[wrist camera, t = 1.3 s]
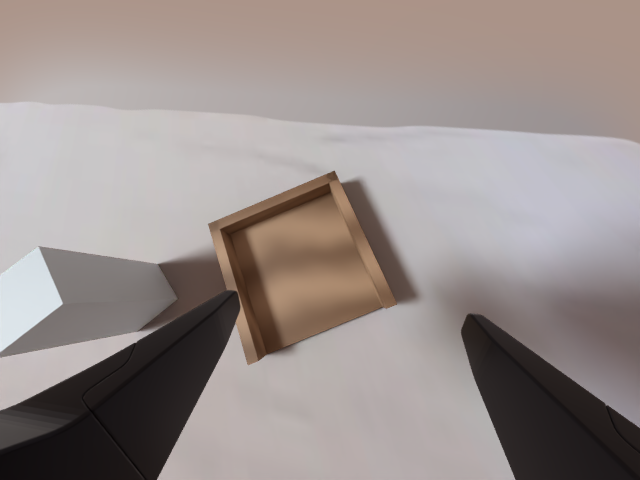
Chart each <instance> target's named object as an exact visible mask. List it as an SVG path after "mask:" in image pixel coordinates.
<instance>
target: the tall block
mask: <svg viewBox="0 0 640 480" xmlns="http://www.w3.org/2000/svg"><path fill="white" fill-rule="evenodd" d="M177 299H178V298H177V296H176V295H175V293H174V291H173V290H172V288H171V286H170V284H169V283H168V281H167V279H166V278H165V276H164V274H163V272H162V271H161V269H160V267H159V266H158V264H154V263H147V262H141V261H134V260H127V259H120V258H114V257H107V256H100V255H93V254H87V253H80V252H73V251H66V250H60V249H53V248H46V247H39V246H38V247H37V248H36V249H34V250H33V251H32V252H30V253H29V254H28V255H26V256H25V257H24V258H22V259H21V260H20V261H18V262H17V263H16V264H14V265H13V266H12V267H10V268H9V269H7V270H6V271H5V272H3V273H2V274H1V275H0V357H5V356H11V355H16V354H21V353H26V352H32V351H37V350H42V349H48V348H53V347H58V346H63V345H69V344H74V343H79V342H85V341H90V340H95V339H100V338H106V337H111V336H116V335H122V334H127V333H132V332H137V331H138V330H140V329H141V328H142V327H143V326H145V325H146V324H147V323H148V322H150V321H151V320H152V319H154V318H155V317H156V316H157V315H159V314H160V313H161V312H162V311H164V310H165V309H166V308H167V307H169V306H170V305H171V304H172V303H174V302H175V301H176V300H177Z"/></svg>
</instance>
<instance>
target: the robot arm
mask: <svg viewBox="0 0 640 480" xmlns="http://www.w3.org/2000/svg"><path fill="white" fill-rule="evenodd" d="M240 308H241V306H240V300H239V295H238V292H237V291H234V290H226V291H224V292H223V293H221V294H219V295H217V296H216V297H214V298H212V299H210V300H209V301H207V302H205V303H203V304H202V305H200V306H198V307H196V308H195V309H193V310H191V311H189V312H188V313H186V314H184V315H182V316H181V317H179V318H177V319H175V320H174V321H172V322H170V323H168V324H167V325H165V326H163V327H161V328H160V329H158V330H156V331H154V332H153V333H151V334H149V335H147V336H146V337H144V338H142V339H140V340H139V341H137V343H133V344H132V345H130V346H128V347H126V348H125V349H123V350H121V351H119V352H117V353H116V354H114V355H112V356H110V357H108V358H107V359H105V360H103V361H101V362H99V363H97V364H95V365H93V366H92V367H90V368H88V369H86V370H84V371H82V372H80V373H78V374H76V375H74V376H72V377H70V378H68V379H66V380H64V381H62V382H60V383H58V384H56V385H54V386H52V387H50V388H48V389H46V390H44V391H42V392H40V393H39V394H37V395H35V396H33V397H31V398H29V399H27V400H25V401H22V402H20V403H18V404H16V405H14V406H11V407H9V408H6V409H3V410H1V411H0V480H157V478H158V476H159V474H160V473H161V471H162V469H163V467H164V465H165V463H166V461H167V459H168V457H169V455H170V453H171V451H172V449H173V447H174V446H175V444H176V442H177V440H178V438H179V436H180V434H181V432H182V430H183V428H184V426H185V424H186V422H187V420H188V419H189V417H190V415H191V413H192V411H193V409H194V407H195V405H196V403H197V401H198V399H199V397H200V395H201V393H202V392H203V390H204V388H205V386H206V384H207V382H208V380H209V378H210V376H211V374H212V372H213V370H214V368H215V367H216V365H217V363H218V361H219V359H220V357H221V355H222V353H223V351H224V349H225V347H226V345H227V342H228V340H229V338H230V335H231V333H232V330H233V327H234V325H235V322H236V320H237V317H238V315H239V312H240ZM461 335H462V339H463V342H464V345H465V349H466V352H467V356H468V359H469V363H470V366H471V369H472V373H473V376H474V379H475V381H476V384H477V386H478V389H479V391H480V394H481V396H482V399H483V401H484V403H485V406H486V408H487V411H488V413H489V416H490V418H491V421H492V423H493V425H494V428H495V430H496V433H497V435H498V438H499V440H500V443H501V445H502V448H503V450H504V452H505V455H506V457H507V460H508V462H509V465H510V467H511V470H512V472H513V475H514V477H515V479H516V480H640V428H639V427H637V426H636V425H635V424H633V423H632V422H630V421H629V420H628V419H626V418H625V417H623V416H622V415H621V414H619V413H618V412H616V411H615V410H614V409H612V408H611V407H609V406H606V405H605V403H604V402H602V401H601V400H600V399H598V398H597V397H595V396H594V395H593V394H591V393H590V392H588V391H587V390H586V389H584V388H583V387H581V386H580V385H579V384H577V383H576V382H575V381H573V380H572V379H570V378H569V377H568V376H566V375H565V374H563V373H562V372H561V371H559V370H558V369H556V368H555V367H554V366H552V365H551V364H549V363H548V362H547V361H545V360H544V359H542V358H541V357H540V356H538V355H537V354H535V353H534V352H533V351H531V350H530V349H529V348H527V347H526V346H524V345H523V344H522V343H520V342H519V341H517V340H516V339H515V338H513V337H512V336H510V335H509V334H508V333H506V332H505V331H503V330H502V329H501V328H499V327H498V326H496V325H495V324H494V323H492V322H491V321H490V320H488V319H487V318H485V317H484V316H482V315H480V314H468V315H467V317H466V319H465V322H464V324H463V327H462V330H461Z"/></svg>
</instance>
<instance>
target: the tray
mask: <svg viewBox="0 0 640 480" xmlns="http://www.w3.org/2000/svg"><path fill="white" fill-rule="evenodd" d="M208 225H209V229H210V232H211V236H212V239H213V243H214V246H215V250H216V254H217V257H218V261H219V264H220V268H221V271H222V275H223V278H224V282H225V286H226V289H227V290H234V291H237V292H238V295H239V300H240V306H241V308H240V312H239V315H238V317H237V320H236V325H237V328H238V332H239V335H240V339H241V342H242V346H243V349H244V353H245V357H246V360H247V364H248V365H250V364H252V363H255V362H257V361H259V360H260V359H262V358H263V357H264V356H265V355H267V354H269V353H271V352H274V351H276V350H279V349H281V348H283V347H286V346H288V345H291V344H293V343H296V342H298V341H301V340H303V339H305V338H308V337H310V336H313V335H315V334H318V333H320V332H323V331H325V330H327V329H330V328H332V327H335V326H337V325H340V324H342V323H345V322H347V321H350V320H352V319H354V318H357V317H359V316H362V315H364V314H367V313H369V312H372V311H374V310H376V309H379V308H381V307H384V308H386V309H387V308H389V307H392V306H394V305H397V303H396V301H395V299H394V296H393V294H392V292H391V290H390V288H389V286H388V284H387V281H386V279H385V277H384V275H383V273H382V271H381V269H380V267H379V264H378V262H377V260H376V258H375V256H374V254H373V252H372V249H371V247H370V245H369V243H368V241H367V239H366V237H365V235H364V232H363V230H362V228H361V226H360V224H359V222H358V220H357V217H356V215H355V213H354V211H353V209H352V207H351V205H350V203H349V200H348V198H347V196H346V194H345V192H344V190H343V188H342V185H341V183H340V181H339V179H338V177H337V175H336V173H335V171H333V172H330V173H328V174H326V175H323V176H321V177H319V178H316V179H314V180H311V181H309V182H307V183H304V184H302V185H300V186H297V187H295V188H292V189H290V190H288V191H285V192H283V193H281V194H278V195H276V196H274V197H271V198H269V199H266V200H264V201H262V202H259V203H257V204H255V205H252V206H250V207H247V208H245V209H243V210H240V211H238V212H236V213H233V214H231V215H229V216H226V217H224V218H221V219H219V220H217V221H214V222H212V223H210V224H208Z"/></svg>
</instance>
